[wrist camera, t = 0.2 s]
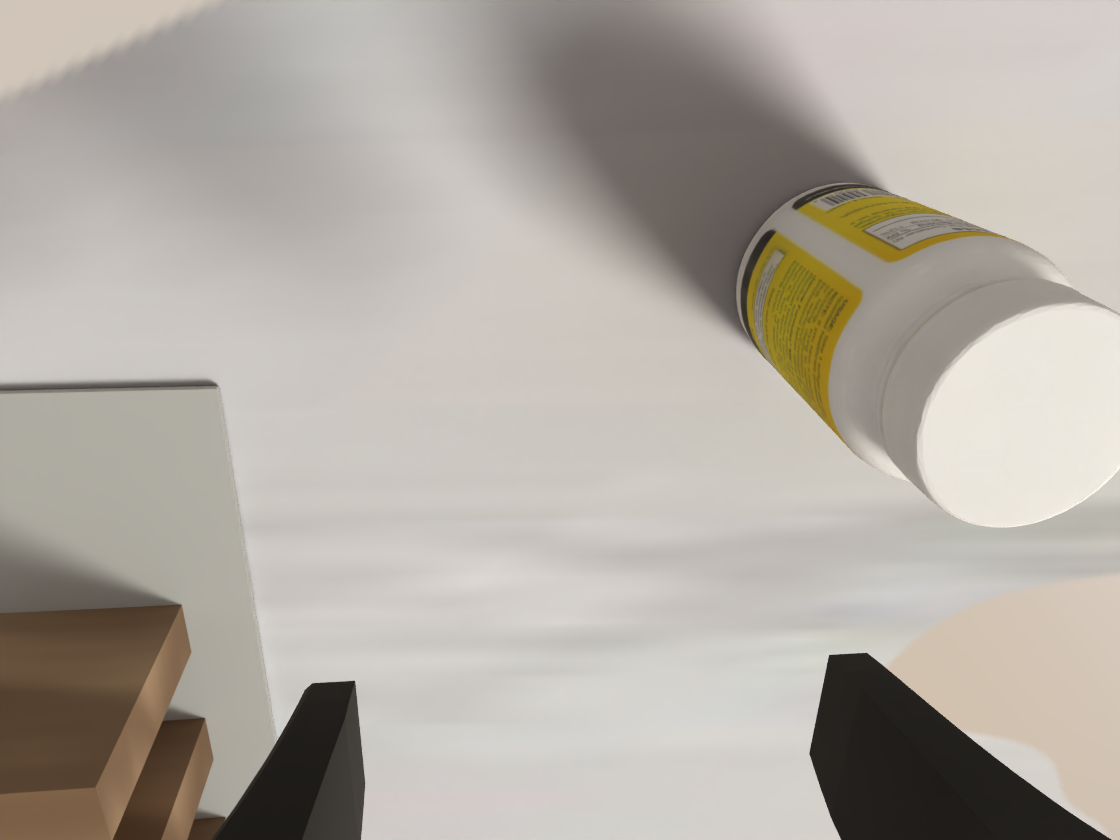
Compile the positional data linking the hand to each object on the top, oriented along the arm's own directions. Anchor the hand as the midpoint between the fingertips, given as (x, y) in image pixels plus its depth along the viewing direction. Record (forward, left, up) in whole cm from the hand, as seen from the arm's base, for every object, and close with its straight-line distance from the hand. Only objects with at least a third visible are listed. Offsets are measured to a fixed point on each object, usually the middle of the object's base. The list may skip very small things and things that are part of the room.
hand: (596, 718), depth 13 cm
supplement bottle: (+4, -7, -10) cm, 13 cm away
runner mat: (-10, +12, -10) cm, 18 cm away
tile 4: (-6, +12, -10) cm, 16 cm away
